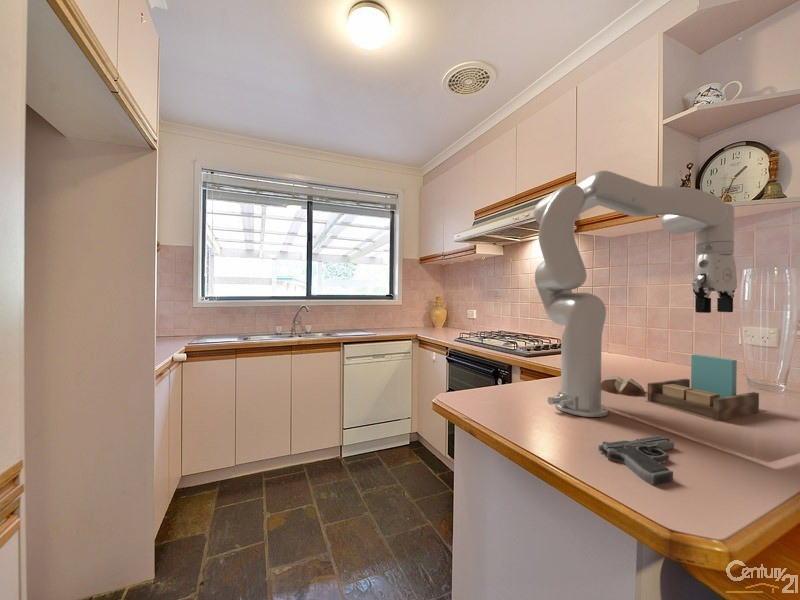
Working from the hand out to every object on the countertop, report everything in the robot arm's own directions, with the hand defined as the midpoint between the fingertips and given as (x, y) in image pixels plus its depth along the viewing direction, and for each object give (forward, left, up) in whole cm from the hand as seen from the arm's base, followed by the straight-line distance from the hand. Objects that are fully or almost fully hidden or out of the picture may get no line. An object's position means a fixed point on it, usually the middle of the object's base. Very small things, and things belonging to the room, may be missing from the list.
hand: (714, 312), depth 89 cm
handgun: (-47, -14, -27) cm, 56 cm away
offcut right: (-10, -3, -26) cm, 27 cm away
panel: (0, 0, -26) cm, 26 cm away
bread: (-11, +18, -27) cm, 34 cm away
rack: (-4, 0, -27) cm, 27 cm away
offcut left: (-10, +3, -26) cm, 27 cm away
